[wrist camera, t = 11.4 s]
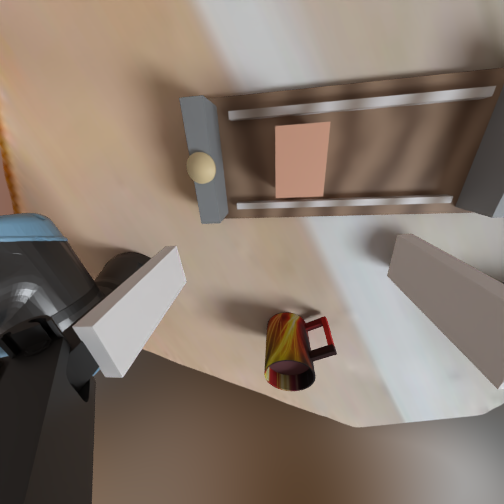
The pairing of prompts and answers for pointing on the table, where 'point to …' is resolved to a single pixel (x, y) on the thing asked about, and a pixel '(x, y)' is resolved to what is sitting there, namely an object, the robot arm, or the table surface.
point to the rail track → (362, 144)
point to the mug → (293, 351)
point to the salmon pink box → (301, 159)
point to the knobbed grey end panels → (213, 182)
